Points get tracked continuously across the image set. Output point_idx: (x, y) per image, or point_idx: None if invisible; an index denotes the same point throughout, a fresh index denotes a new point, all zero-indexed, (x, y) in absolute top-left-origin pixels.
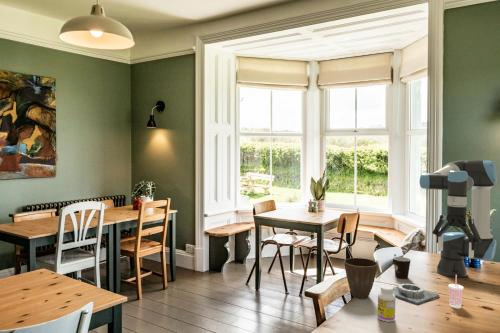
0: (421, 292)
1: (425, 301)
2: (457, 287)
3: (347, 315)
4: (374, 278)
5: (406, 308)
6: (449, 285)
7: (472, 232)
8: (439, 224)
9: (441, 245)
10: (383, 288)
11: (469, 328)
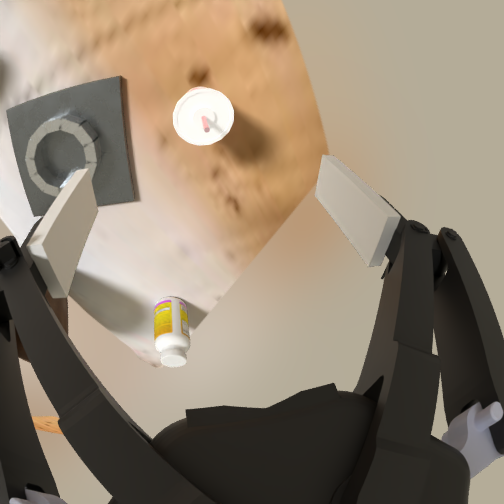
0: (96, 151)
1: (128, 157)
2: (214, 124)
3: (133, 337)
4: (55, 300)
5: (142, 239)
6: (181, 130)
7: (438, 335)
8: (32, 428)
9: (80, 211)
10: (175, 366)
11: (292, 211)
